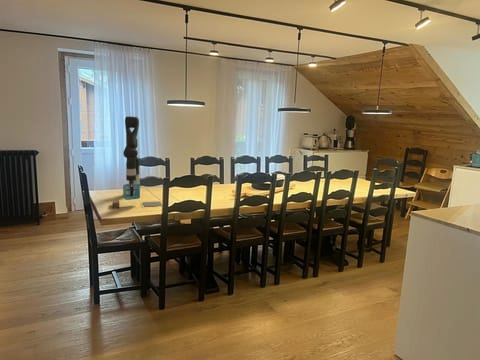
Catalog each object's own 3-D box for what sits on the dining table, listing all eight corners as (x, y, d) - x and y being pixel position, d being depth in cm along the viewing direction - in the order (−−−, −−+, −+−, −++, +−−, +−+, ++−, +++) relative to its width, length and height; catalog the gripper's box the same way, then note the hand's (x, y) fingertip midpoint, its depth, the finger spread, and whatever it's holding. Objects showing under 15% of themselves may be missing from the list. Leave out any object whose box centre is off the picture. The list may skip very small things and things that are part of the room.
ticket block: (112, 204, 292) (112, 199, 292) (119, 204, 294) (119, 199, 293) (112, 208, 281) (112, 203, 280) (119, 207, 283) (119, 202, 282)
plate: (140, 202, 300) (140, 202, 300) (160, 201, 305) (160, 201, 305) (141, 207, 287) (141, 206, 287) (162, 205, 292) (162, 205, 292)
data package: (124, 200, 286) (124, 185, 283) (123, 199, 289) (122, 184, 287) (140, 198, 292) (139, 184, 290) (138, 197, 296) (138, 182, 293)
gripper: (125, 172, 292) (126, 193, 296) (126, 176, 279) (127, 197, 282) (135, 172, 295) (136, 192, 298) (136, 175, 281) (137, 197, 285)
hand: (131, 195), depth 290 cm, fingers closed on data package, 5 cm apart
